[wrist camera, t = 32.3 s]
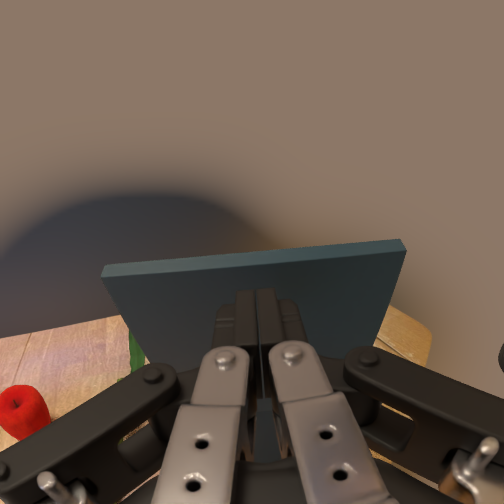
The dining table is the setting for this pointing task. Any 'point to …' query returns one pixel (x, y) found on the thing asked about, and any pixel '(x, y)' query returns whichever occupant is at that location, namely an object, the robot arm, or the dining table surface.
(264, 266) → the lid
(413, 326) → the dining table surface
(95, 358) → the dining table surface
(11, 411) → the apple
